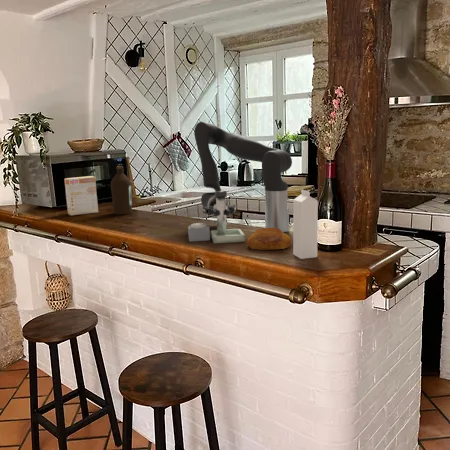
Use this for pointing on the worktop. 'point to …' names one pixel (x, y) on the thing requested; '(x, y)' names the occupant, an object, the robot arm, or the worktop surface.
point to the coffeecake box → (81, 195)
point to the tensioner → (198, 232)
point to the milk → (305, 226)
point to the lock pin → (221, 212)
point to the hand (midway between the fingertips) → (222, 213)
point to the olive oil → (121, 193)
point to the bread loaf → (269, 239)
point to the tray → (228, 236)
